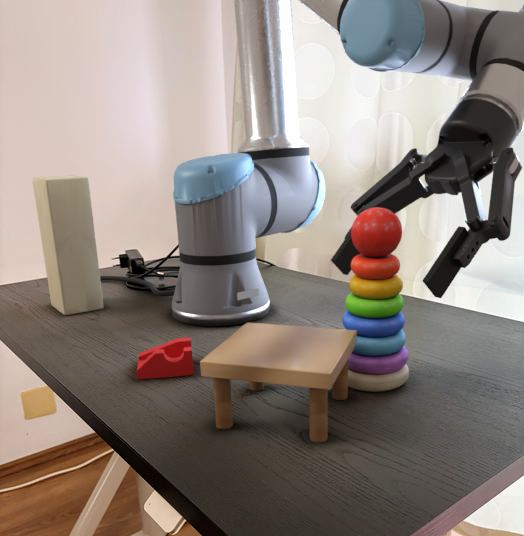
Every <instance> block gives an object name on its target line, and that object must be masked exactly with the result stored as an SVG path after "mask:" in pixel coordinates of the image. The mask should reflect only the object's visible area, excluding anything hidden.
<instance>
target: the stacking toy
mask: <svg viewBox="0 0 524 536" xmlns="http://www.w3.org/2000/svg"><path fill="white" fill-rule="evenodd" d="M351 227H352V229H351V228H350V229H351V238H352V242H353V244H354V246H355V248H356V249H357V250H358V251H359V252H360V253H361V254H359V255H357V256H355V257H354V258H353V259H352V261H351V269H352V270H351V272H352V273H353V276H351V277H350V279H349V281H348V289H349V290H350V293H349V294H347V296H346V298H345V307H346V311H345V312H344V314H343V316H342V319H341V320H342V321H341V322H342V325H343V329H346V330H357V344H356V346H355V348H354V349H353V351H352V353H351V355H350V356H349V358H348V388H351V389H353V390H357V391H362V392H385V391H386V392H387V391H390V390H394V389H396V388H399V387H400V386H402V385H404V384H405V383H406V382H407V381H408V379H409V376H410V369H409V366H408V365H407V363H408V361H409V351H408V349H407V347H406V346H405V344H406V342H407V340H406V339H407V336H406V333H405V331H404V330H403V329H404V327H405V324H406V323H405V322H406V320H405V315H404V313H403V312H401V311H402V310H403V309H404V304H405V301H404V298H403V296H402V295H401V294H400V293H401V292H402V290H403V288H404V283H403V280H402V278H401V277H400V276H399V275H397V274H398V273H399V271H400V270H401V261H400V259H399V258H398V256H396V255H395V254H392V253H393V252H394V251H396V250H397V249H398V246H399V245H400V244H401V241H402V238H403V226H402V222H401V220H400V218H399V217H398V216H397V214H396V213H395V214H394V213H393V212H392V211H390V210H388V209H386V208H381V207H375V208H370V209H367V210H365V211H363V212H362V213H360V214H359V215H358V216H357V215H356V217H355V219H354V221H353V223H352V225H351Z"/></svg>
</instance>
